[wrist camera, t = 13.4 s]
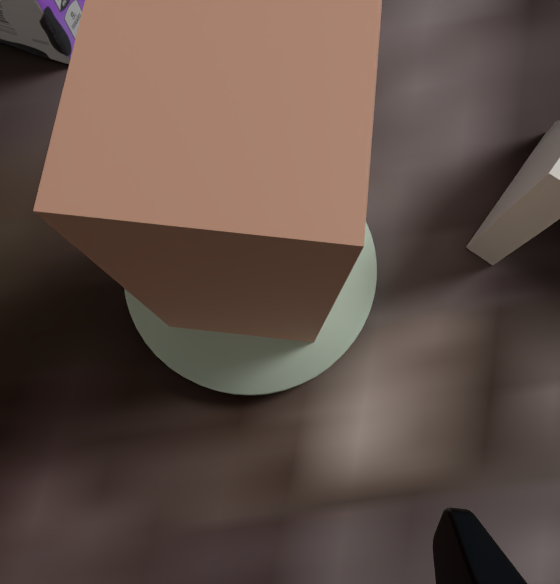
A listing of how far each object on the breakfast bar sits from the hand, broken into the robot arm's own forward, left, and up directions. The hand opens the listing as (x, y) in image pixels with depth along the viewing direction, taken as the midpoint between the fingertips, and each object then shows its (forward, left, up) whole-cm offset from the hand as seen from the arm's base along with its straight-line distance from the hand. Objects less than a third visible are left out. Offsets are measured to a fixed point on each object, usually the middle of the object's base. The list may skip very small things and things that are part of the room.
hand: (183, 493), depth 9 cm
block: (+6, -2, -8) cm, 10 cm away
